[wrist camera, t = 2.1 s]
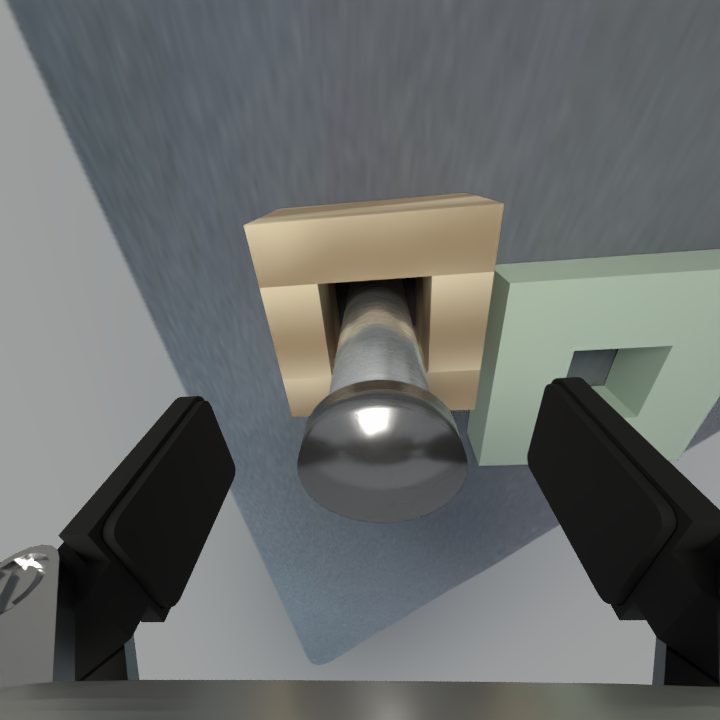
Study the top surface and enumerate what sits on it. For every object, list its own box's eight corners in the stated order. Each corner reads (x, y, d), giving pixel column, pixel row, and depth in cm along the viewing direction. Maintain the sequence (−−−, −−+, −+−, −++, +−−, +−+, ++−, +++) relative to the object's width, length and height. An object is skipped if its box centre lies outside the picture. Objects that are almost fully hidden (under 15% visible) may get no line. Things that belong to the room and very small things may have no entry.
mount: (278, 208, 15) (243, 225, 11) (466, 192, 15) (504, 203, 11) (309, 363, 20) (292, 416, 16) (452, 356, 20) (474, 409, 15)
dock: (488, 265, 17) (510, 283, 14) (735, 247, 16) (805, 263, 13) (466, 432, 23) (478, 465, 20) (642, 425, 22) (678, 460, 19)
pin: (337, 258, 17) (281, 413, 6) (410, 253, 16) (476, 405, 6) (345, 324, 19) (311, 524, 8) (410, 320, 18) (459, 521, 8)
